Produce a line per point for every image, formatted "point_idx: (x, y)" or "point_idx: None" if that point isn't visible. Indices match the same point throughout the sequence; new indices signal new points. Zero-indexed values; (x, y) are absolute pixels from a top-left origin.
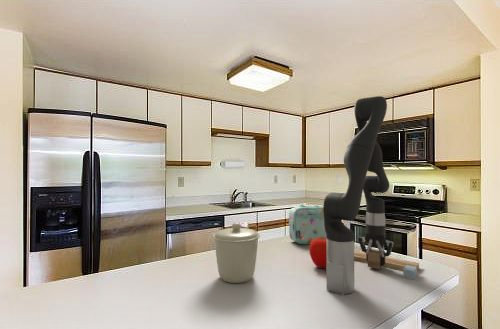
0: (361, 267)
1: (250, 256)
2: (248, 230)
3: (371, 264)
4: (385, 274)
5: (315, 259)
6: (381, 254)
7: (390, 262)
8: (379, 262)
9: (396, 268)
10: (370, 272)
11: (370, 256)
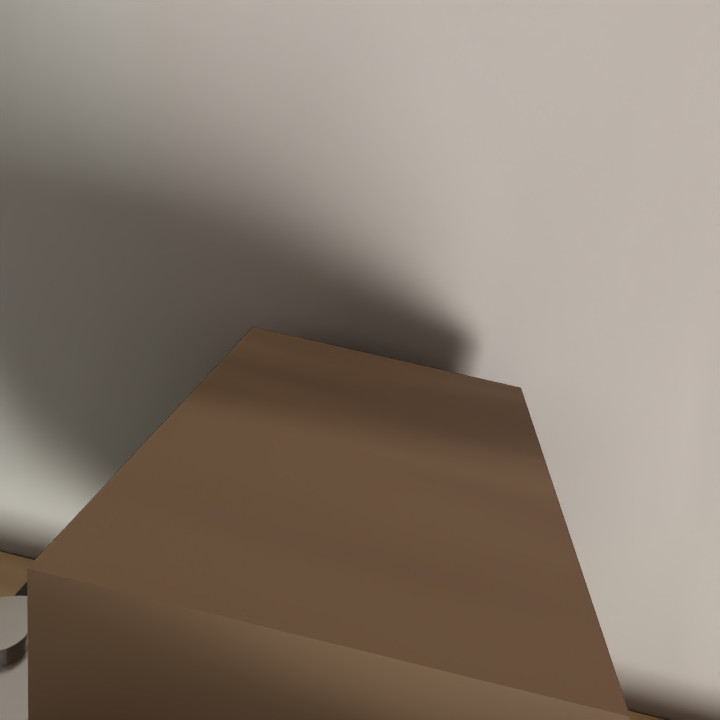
0: (660, 399)
1: None
2: None
3: (433, 400)
4: (127, 180)
5: None
6: (18, 686)
7: None
8: (193, 408)
9: (6, 567)
10: (447, 144)
11: (469, 540)
